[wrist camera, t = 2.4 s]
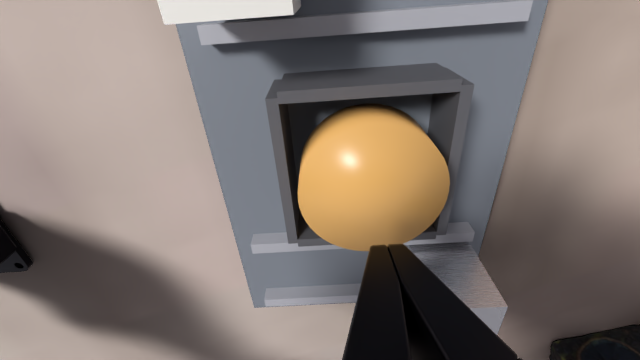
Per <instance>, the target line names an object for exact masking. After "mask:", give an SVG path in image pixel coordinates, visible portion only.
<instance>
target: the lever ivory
mask: <svg viewBox="0 0 640 360" xmlns="http://www.w3.org/2000/svg"><path fill="white" fill-rule="evenodd" d="M157 2H158V5H159V9H160V12H161V16H162V19H163V22H164V25H168V24H181V23H194V22H207V21H220V20H233V19H246V18H259V17H272V16H285V15H294V14H295V13H296V12H297V11H298V10H299V9H300V7H301V0H157Z"/></svg>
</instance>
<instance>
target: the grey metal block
mask: <svg viewBox="0 0 640 360" xmlns="http://www.w3.org/2000/svg"><path fill="white" fill-rule="evenodd" d="M408 249H409V250H410V251H411V252H412V253H414V254H415V255H416V256H417V257H418V258H419V259H420V260H421V261H422V262H423V263H424V264H425V265H426V266H427V267H428V268H429V269H430V270H431V271H432V272H433V273H434V274H435V275H436V276H437V277H438V278H439V279H440V280H441V281H442V282H443V283H444V284H445V285H446V286H447V287H448V288H449V289H450V290H451V291H452V292H453V293H454V294H455V295H456V296H457V297H458V298H459V299H461V300H462V301H463V302H464V303H465V304H466V305H467V306H468V307H469V308H470V309H471V310H472V311H473V312H474V313H475V314H476V315H477V316H478V317H479V318H480V319H481V320H482V321H483V322H484V323H485V324H486V325H487V326H488V327H489V328H490V329H491V330H492V331H493V332H494V333H495V334H496V335H497V334H498V331H499V329H500V326H501V323H502V321H503V318H504V316H505V313H506V311H507V308H508V306H507V304H506V302H505V301H504V299H503V297H502V296H501V294H500V293H499V291H498V289H497V288H496V286H495V284H494V283H493V281H492V279H491V278H490V276H489V274H488V273H487V271H486V269H485V268H484V266H483V264H482V263H481V261H480V259H479V258H478V256H477V254H476V253H475V251H474V249H473V248H472V246H471V244H470V243H469V242H455V243H437V244H419V245H408Z"/></svg>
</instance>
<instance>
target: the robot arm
mask: <svg viewBox="0 0 640 360" xmlns="http://www.w3.org/2000/svg"><path fill="white" fill-rule="evenodd" d="M32 265H33V262H32V260H31V259H30V257H29V256H28V255H27V253H26V252H25V251H24V249H23V248H22V247H21V246H20V244H19V243H18V242H17V240H16V239H15V238H14V236H13V235H12V234H11V232H10V231H9V230H8V229H7V227H6V226H5V225H4V223H3V222H2V221H1V219H0V273H4V272H22V271H27V270H28V269H29V268H30V267H31V266H32ZM342 360H522V359H521V358H518V359H517V354H516V353H515V352H514V351H513V350H512V349H511V348H510V347H509V346H508V345H506V344H505V343H504V342H503V341H502V340H501V339H500V338H499V337H498V336H497V335H496V334H495V333H494V332H493V331H492V330H491V329H490V328H489V327H488V326H487V325H486V324H485V323H484V322H483V321H482V320H481V319H480V318H479V317H478V316H477V315H476V314H475V313H474V312H473V311H472V310H471V309H470V308H469V307H468V306H467V305H466V304H465V303H464V302H463V301H462V300H461V299H459V298H458V297H457V296H456V295H455V294H454V293H453V292H452V291H451V290H450V289H449V288H448V287H447V286H446V285H445V284H444V283H443V282H442V281H441V280H440V279H439V278H438V277H437V276H436V275H435V274H434V273H433V272H432V271H431V270H430V269H429V268H428V267H427V266H426V265H425V264H424V263H423V262H422V261H421V260H420V259H419V258H418V257H417V256H416V255H415V254H414V253H412V252H411V251H410V250H409V249H408V248H407V247H406V246H405V245H404V244H389V245H387V246H386V245H384V244H383V245H372V246H370V249H369V253H368V257H367V261H366V265H365V269H364V273H363V277H362V281H361V285H360V289H359V293H358V297H357V301H356V306H355V310H354V314H353V318H352V322H351V326H350V330H349V334H348V338H347V342H346V346H345V350H344V354H343V358H342Z"/></svg>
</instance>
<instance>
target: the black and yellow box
mask: <svg viewBox="0 0 640 360" xmlns="http://www.w3.org/2000/svg"><path fill="white" fill-rule="evenodd" d="M550 350H551V355H550V360H640V325H633V326H627V327H622V328H618V329H613V330H608V331H604V332H599V333H594V334H589V335H585V336H582V337H576V338H570V339H564V340H559V341H555V342H553V344H552V346H551V349H550Z"/></svg>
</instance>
